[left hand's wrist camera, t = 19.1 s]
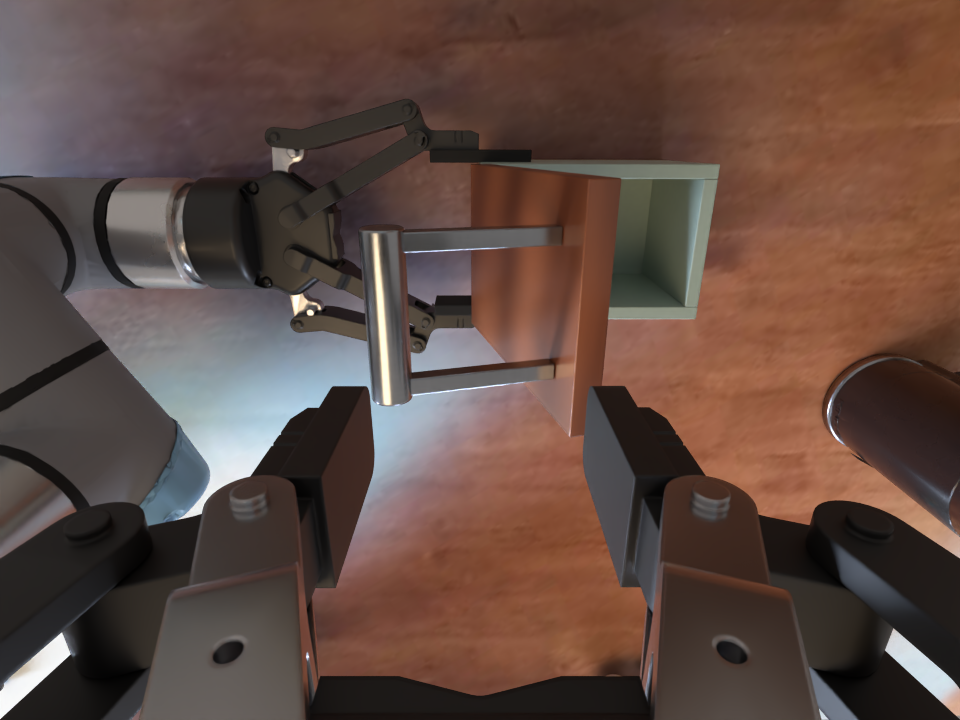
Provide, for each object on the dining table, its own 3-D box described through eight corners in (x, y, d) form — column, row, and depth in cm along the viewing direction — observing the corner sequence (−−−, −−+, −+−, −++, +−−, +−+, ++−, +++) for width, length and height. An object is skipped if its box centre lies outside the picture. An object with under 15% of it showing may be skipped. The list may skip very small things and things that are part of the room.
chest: (662, 159, 41) (721, 163, 32) (647, 281, 45) (696, 319, 35) (479, 159, 41) (480, 163, 31) (479, 281, 45) (480, 319, 35)
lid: (622, 178, 18) (358, 181, 15) (597, 433, 21) (380, 465, 19) (490, 163, 31) (340, 164, 29) (489, 321, 34) (355, 332, 32)
